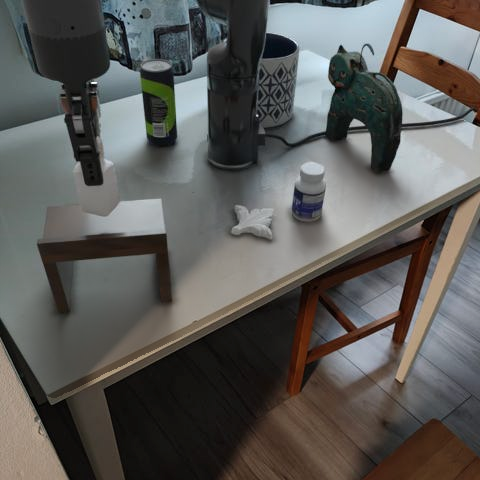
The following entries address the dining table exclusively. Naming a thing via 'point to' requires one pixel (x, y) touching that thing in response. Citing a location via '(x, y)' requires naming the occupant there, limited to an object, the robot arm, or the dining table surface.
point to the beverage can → (159, 101)
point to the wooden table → (102, 242)
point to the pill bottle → (309, 192)
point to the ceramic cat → (364, 106)
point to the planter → (277, 79)
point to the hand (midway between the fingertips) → (94, 171)
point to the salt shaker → (98, 188)
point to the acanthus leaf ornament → (253, 221)
